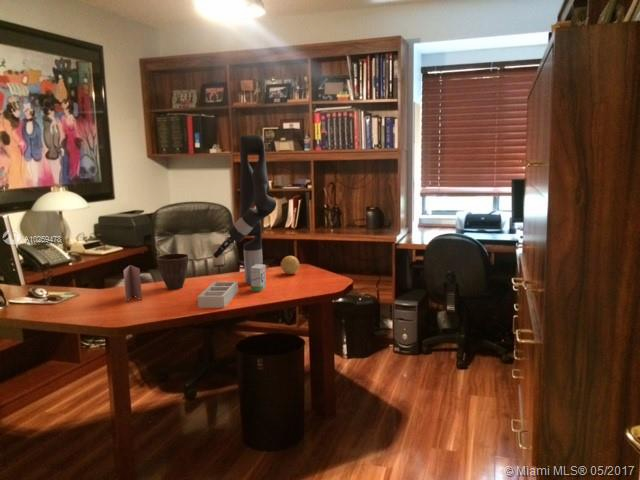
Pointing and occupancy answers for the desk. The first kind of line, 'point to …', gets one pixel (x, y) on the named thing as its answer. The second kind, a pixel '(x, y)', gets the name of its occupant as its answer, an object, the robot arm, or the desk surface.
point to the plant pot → (173, 270)
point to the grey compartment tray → (217, 295)
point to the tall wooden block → (221, 258)
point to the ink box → (258, 277)
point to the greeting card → (132, 282)
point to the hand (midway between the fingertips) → (216, 255)
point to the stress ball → (290, 264)
